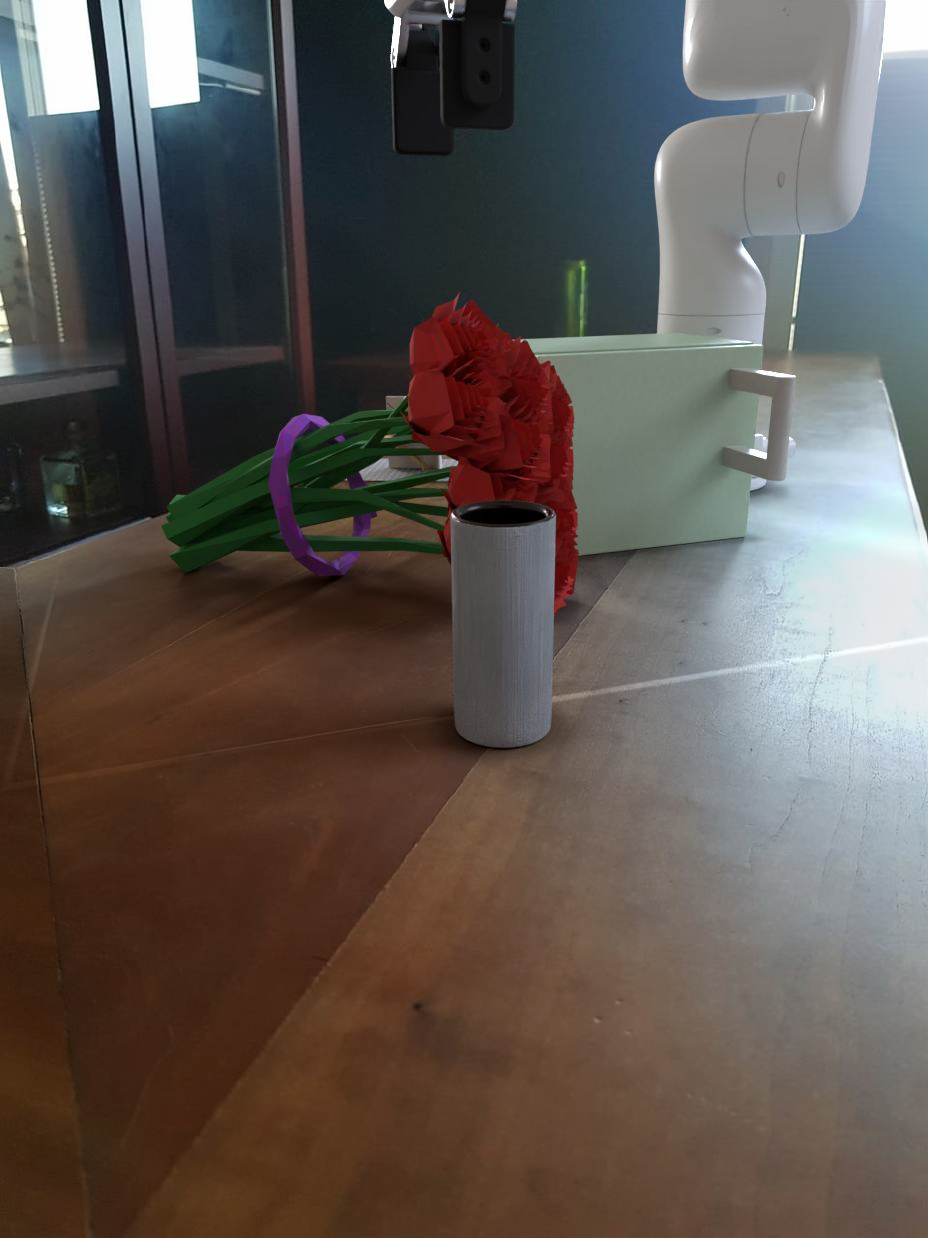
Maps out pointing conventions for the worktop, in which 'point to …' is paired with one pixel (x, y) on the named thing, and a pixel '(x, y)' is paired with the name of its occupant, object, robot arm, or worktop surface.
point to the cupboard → (626, 343)
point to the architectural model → (404, 459)
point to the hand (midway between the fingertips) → (448, 142)
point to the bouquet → (437, 417)
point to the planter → (503, 621)
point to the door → (670, 442)
